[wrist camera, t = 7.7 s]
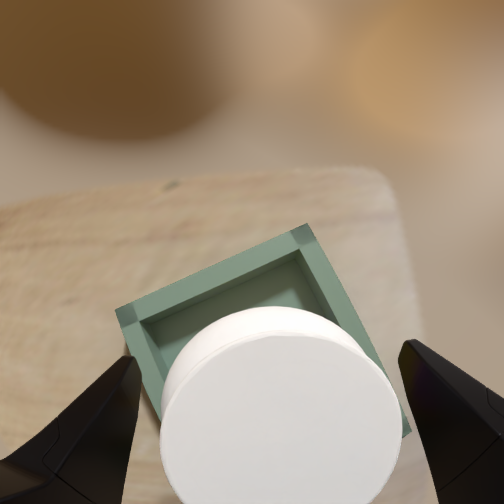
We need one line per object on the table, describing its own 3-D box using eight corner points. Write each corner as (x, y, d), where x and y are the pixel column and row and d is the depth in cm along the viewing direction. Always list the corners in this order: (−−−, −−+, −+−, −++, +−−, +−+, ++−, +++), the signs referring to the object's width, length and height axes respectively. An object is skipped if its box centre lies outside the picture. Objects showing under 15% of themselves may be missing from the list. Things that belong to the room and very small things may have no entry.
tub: (394, 424, 16) (411, 431, 14) (225, 505, 14) (221, 523, 12) (300, 238, 20) (307, 223, 18) (130, 315, 18) (114, 309, 16)
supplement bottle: (330, 414, 16) (458, 499, 4) (225, 447, 15) (182, 588, 3) (298, 314, 18) (389, 234, 6) (192, 345, 17) (73, 327, 5)
